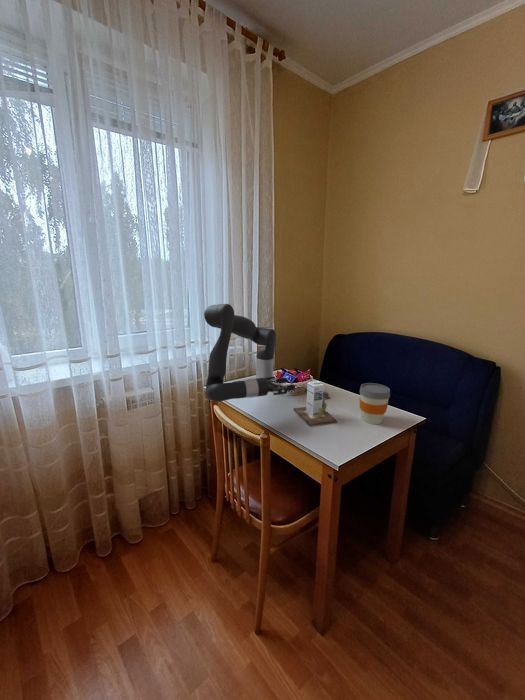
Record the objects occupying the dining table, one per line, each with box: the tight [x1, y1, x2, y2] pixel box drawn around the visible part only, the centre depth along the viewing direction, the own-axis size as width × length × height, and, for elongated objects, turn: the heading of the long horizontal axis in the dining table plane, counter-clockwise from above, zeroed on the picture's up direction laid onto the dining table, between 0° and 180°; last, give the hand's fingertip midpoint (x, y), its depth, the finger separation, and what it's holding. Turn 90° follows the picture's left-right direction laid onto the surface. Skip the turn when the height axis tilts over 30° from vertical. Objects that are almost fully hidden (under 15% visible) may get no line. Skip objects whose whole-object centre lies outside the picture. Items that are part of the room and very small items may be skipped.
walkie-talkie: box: [304, 388, 329, 403], centre depth 163 cm, size 9×4×20 cm
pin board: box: [293, 402, 338, 427], centre depth 142 cm, size 16×13×6 cm
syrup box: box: [305, 380, 326, 417], centre depth 140 cm, size 6×6×14 cm
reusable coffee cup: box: [358, 382, 391, 425], centre depth 139 cm, size 12×13×15 cm
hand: (290, 383), depth 137 cm, fingers open, 8 cm apart
